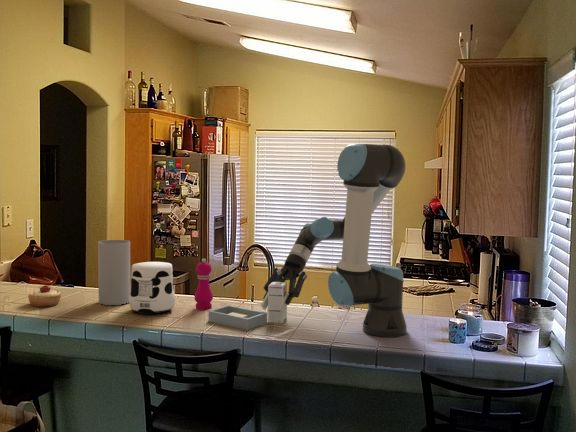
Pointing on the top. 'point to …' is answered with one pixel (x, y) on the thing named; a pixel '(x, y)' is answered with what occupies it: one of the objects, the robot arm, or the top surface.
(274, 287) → the syrup box
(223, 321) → the tray
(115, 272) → the cylinder vase
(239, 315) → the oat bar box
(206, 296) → the pepper mill
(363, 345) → the top surface
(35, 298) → the pastry
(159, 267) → the milk container
